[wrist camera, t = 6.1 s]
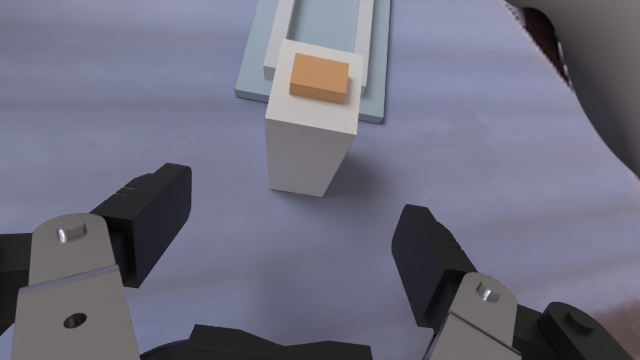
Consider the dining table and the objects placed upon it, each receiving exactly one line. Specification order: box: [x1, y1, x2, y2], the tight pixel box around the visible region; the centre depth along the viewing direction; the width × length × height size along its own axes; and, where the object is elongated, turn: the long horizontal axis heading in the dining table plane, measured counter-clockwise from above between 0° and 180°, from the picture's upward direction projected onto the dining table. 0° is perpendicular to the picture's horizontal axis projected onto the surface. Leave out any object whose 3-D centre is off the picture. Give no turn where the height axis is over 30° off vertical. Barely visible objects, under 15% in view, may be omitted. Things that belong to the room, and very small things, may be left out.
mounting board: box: [235, 0, 390, 124], centre depth 27 cm, size 20×12×2 cm, turn 173°
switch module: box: [265, 38, 364, 197], centre depth 18 cm, size 4×4×11 cm
